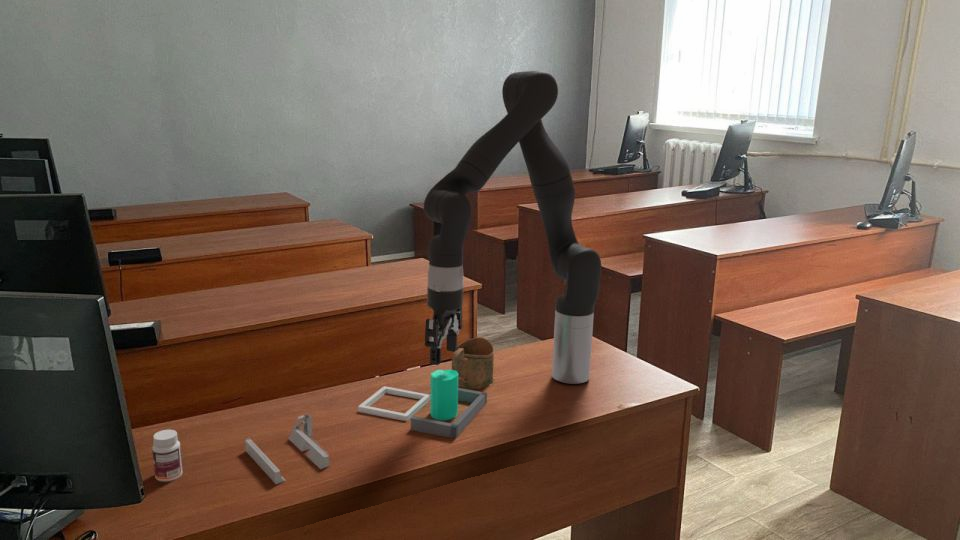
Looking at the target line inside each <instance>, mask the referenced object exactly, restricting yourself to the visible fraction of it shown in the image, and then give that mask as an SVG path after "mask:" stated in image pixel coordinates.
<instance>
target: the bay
mask: <svg viewBox="0 0 960 540" xmlns="http://www.w3.org/2000/svg"><path fill="white" fill-rule="evenodd" d="M458 401H460V402H466V403H467V402H468V403H471V404H470V405H469V406H468V407H467V408H465V410H464V411H463V412H462V413H461V414H460V415H459V416H458V417H457V419H455V420H454V422H453V423H452V422H451V423H450V422H446V421H442V420H437V419H431V418H425V417H421V416H417V415H416V416H415V415H413V416H412V417H411V418H410V431H416V432H419V433H425V434H430V435H435V436H440V437H445V438H451V439H455V440H456V439H457V438H458V436H459V435H460V434H461V433H462V432H463V431H464V430H465V428H466V427H467V426H468V425H469V424H470V423H471V421H473V419H474V418H475V417H476V416H477V415H478V414H479V412H481V410H482V409H483V408H484V407H485V406H486V405H487V403H488V393H487V392H483V391H480V390H479V391H477V390H474V389H473V390H472V389H469V388H463V387H458Z"/></svg>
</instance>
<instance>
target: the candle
mask: <svg viewBox="0 0 960 540" xmlns="http://www.w3.org/2000/svg"><path fill="white" fill-rule="evenodd" d="M458 388H459V386H458V373H457V371H454V370H452V369H446V368H445V367H444V370H443V369H436V370H435V371H433V372H431V373H430V416H431V418H432V419H434V420H436V421H448V420H453V419H455V418H457V416H458V413H459V412H458V411H459V400H458Z"/></svg>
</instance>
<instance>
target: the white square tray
mask: <svg viewBox="0 0 960 540" xmlns="http://www.w3.org/2000/svg"><path fill="white" fill-rule="evenodd" d="M385 394H389V395H394V396H400V397H406V398H411V399H416V400H418V401H417V402H416V403H415V404H414V405H413V406H411V408H409V409H408V410H407V411H406V412H405V413H404V412H399V411H394V410H388V409H385V408H379V407H374V406H372V405H374V403H376V402H377V401H378V400H380V399H381V398H382V397H383V396H384V395H385ZM429 401H431V394H427V393H421V392H416V391H412V390H407V389H400V388H396V387H391V386H385V385H384V386H382V387H381V388H379V390H377V391H376V392H375V393H373V394H372V395H371V396H369V397H368V398H367V399H366V400H365V401H363V402H362V403H361V404H359V405H358V406H357V412H358V413H361V414H367V415H372V416H378V417H383V418H388V419H394V420H398V421H399V420H400V421H404V422H408V421H409V420H411V418H412V417H413V416H415V414H417V413H418V412H419V411H420V409H422V407H423V406H425V405H426V404H427V403H428V402H429Z"/></svg>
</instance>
